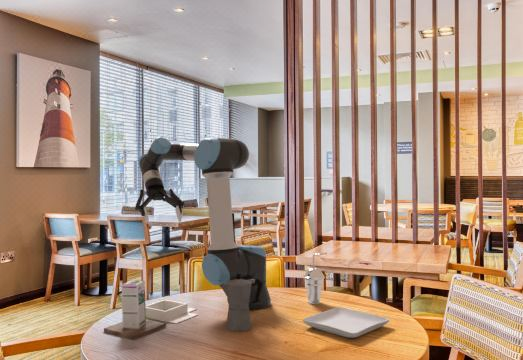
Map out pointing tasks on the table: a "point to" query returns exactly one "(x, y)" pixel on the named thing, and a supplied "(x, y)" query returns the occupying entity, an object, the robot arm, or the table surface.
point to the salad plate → (345, 322)
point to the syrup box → (133, 304)
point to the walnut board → (135, 333)
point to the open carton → (169, 311)
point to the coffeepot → (240, 302)
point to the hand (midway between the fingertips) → (164, 220)
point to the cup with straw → (314, 283)
